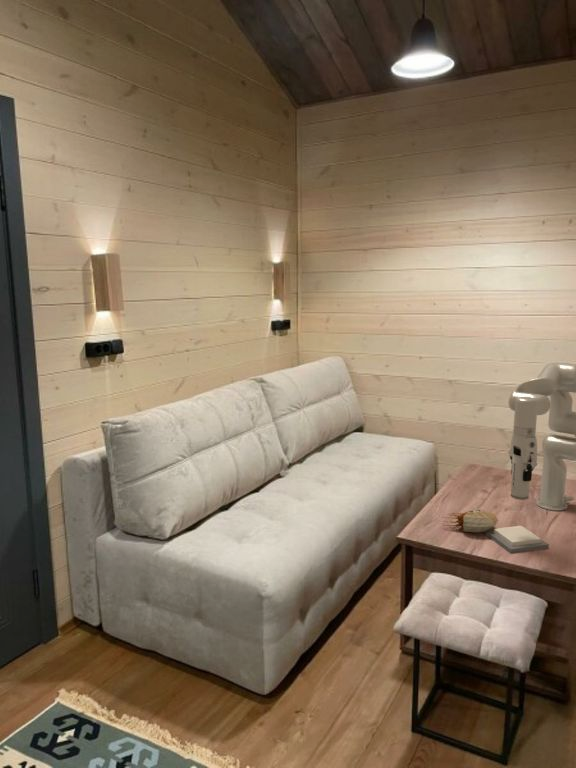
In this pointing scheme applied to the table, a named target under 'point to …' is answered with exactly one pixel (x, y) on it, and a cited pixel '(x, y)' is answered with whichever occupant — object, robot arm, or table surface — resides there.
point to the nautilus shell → (474, 521)
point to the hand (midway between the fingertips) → (521, 477)
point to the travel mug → (518, 477)
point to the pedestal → (516, 539)
